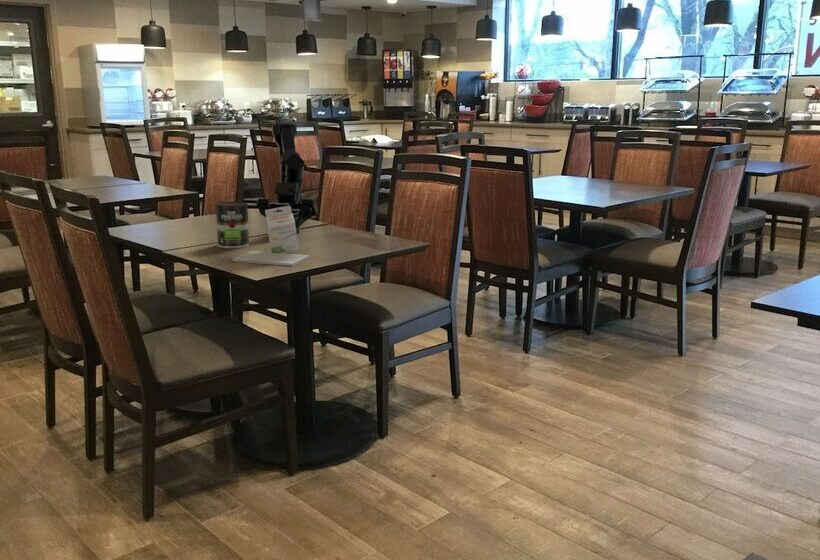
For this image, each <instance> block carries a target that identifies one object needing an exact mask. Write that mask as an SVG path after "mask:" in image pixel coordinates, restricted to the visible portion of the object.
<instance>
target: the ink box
mask: <svg viewBox="0 0 820 560" xmlns="http://www.w3.org/2000/svg"><path fill="white" fill-rule="evenodd" d="M277 210H283V211H281V212H276V213H275V211H277ZM265 214H266V218H265V225H266V224H267V226H266V229H267V235H268V240H269V245H270V250H271V252H272V253H288V252H292V251H297V250H299V249H300V248H299V242H298V233H296V226H295V221H294V217H293V213H292V212H291V206H285V207H279V208H273V209H268V210H265Z"/></svg>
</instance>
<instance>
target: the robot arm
mask: <svg viewBox="0 0 820 560" xmlns="http://www.w3.org/2000/svg"><path fill="white" fill-rule="evenodd" d="M297 128H298V127H297V124H294V123H293V122H275V123H274V124H272V125H271V135H272V136H273V140H274V143H275V144H276V146H277V147H278V151H279V152H278V154H279V155H278V156H279V166H278V167H279V174H280V182H275V186H274V194H276V195H277V196H276V199H277V200H275V202H273V201H272V199H271V198H264V197H263V198H261V197H260V198H258V199H257V200H256V207H257V210H258V211H259V213H260V216H263V217H264V218H265V219H266V214H265V210H268V209H273V208H279V207H285V206H291V212H292V213H293V217H294V221H295V226H296V233H297V234H298V233H300V232H301V230H300V227H302V226H303V224H304V223H305V222H307V221H308V220H309V219H312V218H313V217H317V216H318V212H319V209H318V206H317V201H316V200H315V199H314V198H302V199H301V196H300V195H301V191H302V186H303V184H304V183H303V182H304V172H305V171H306V170H307V164H305V161H304V159H303V158H302V157H301V154H299V152H297V149H296V143H295V141H296V140H295V139H296V137H295V136H297V135H298V129H297ZM281 211H283V210H277V211H274V213H276V212H281ZM265 225H266V227H267V224H266V223H265Z"/></svg>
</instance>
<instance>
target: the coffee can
mask: <svg viewBox="0 0 820 560" xmlns="http://www.w3.org/2000/svg"><path fill="white" fill-rule="evenodd" d="M248 206H249V203H248V202H244V201H222V202H221V201H220V202H217V203H215V208H216V210H215V211H216V212H215V214H216V229H217V231H216V232H217V234H216V235H217V247H218V248H220V249H230V250H231V249H242V248H243V249H244V248H247V247H249V246H250V239H249V213H248Z"/></svg>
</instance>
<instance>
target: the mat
mask: <svg viewBox="0 0 820 560" xmlns="http://www.w3.org/2000/svg"><path fill="white" fill-rule="evenodd" d="M310 258H311V255H309V254H295V253H286V252H282V253H272V251H271V252H269V251H257V250H251V251H248V252H246V253H243V254H241V255H237V256H236V257H233V258H231V259H232V262H237V263H247V264H248V263H249V264H259V265H261V264H262V265H274V266H283V267H284V266H285V267H294V266H296V265H299V264H301V263H303V262H304V261H307V260H309V259H310Z"/></svg>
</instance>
